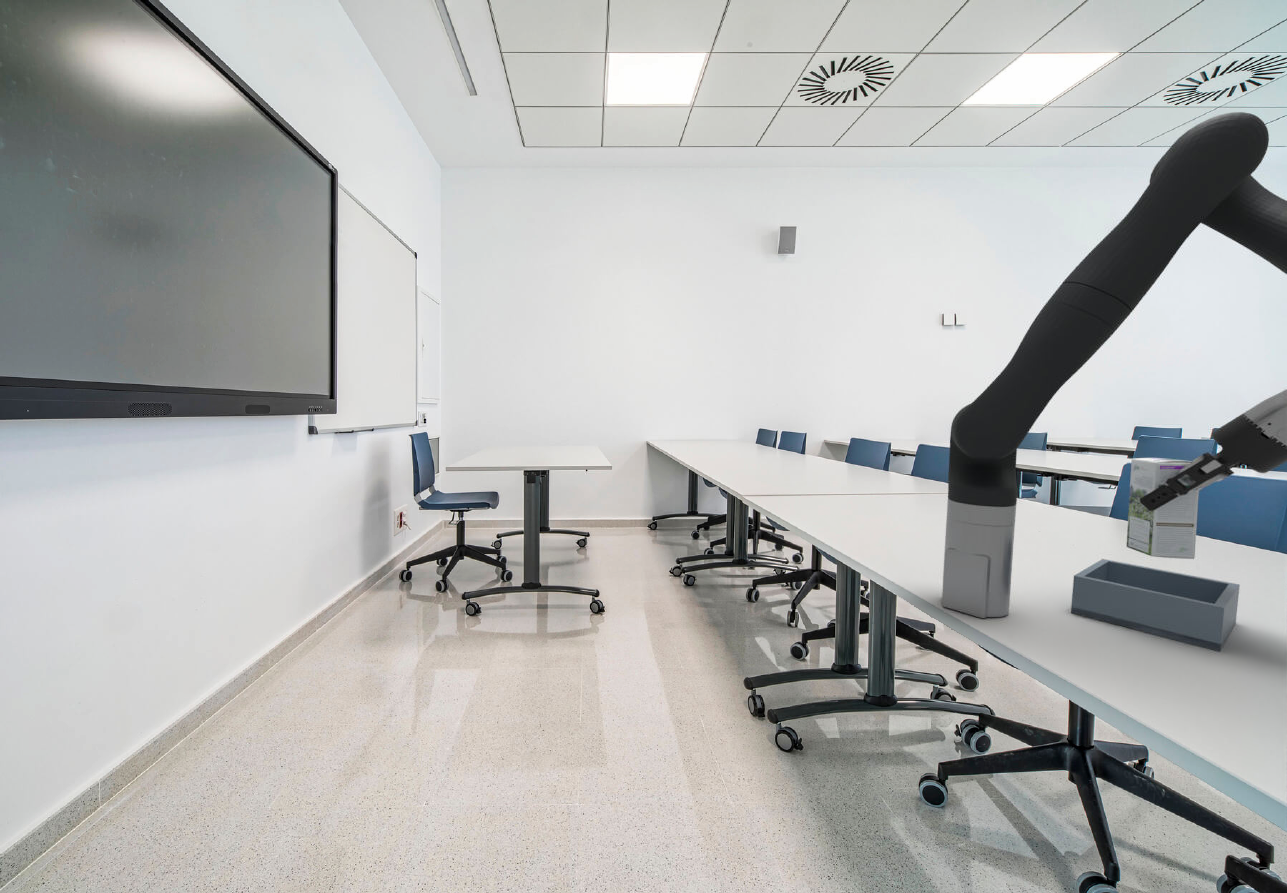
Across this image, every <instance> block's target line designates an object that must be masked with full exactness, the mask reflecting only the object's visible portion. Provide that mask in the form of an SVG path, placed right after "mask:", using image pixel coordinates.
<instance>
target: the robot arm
mask: <svg viewBox="0 0 1287 893" xmlns="http://www.w3.org/2000/svg"><path fill="white" fill-rule="evenodd" d="M1269 136H1270V135H1269V130H1268V127H1267V125H1266V124H1265V122H1264V121H1263V119H1261V118H1260V117H1259V116H1257V115H1255V114H1252V113H1249V112H1245V111H1244V112H1243V111H1238V112H1237V111H1234V112H1228V113H1223V114H1219V115H1215V116H1213V117H1210V118H1208V119H1206V120H1204V121H1202V122H1200V123H1198V124H1196V125H1194V126H1193V127H1192V128H1190V129H1188V130H1186V131H1185V132H1184V133H1183V134H1181V136H1179V137H1178V138H1177V139H1176V140H1175V141H1174V143H1173V144H1172V145H1171V146H1170V147H1169V148H1168V150H1167V151H1166V152H1165V153H1164V154H1163V155H1162V156H1161V158H1160V159H1159V160H1158V161H1157V163H1156V164H1155V166H1154V167H1153V169H1152V172H1151V173H1150V177H1149V184H1148V186H1147V187H1146V189H1145V190H1144V192H1143V193H1142V194H1141V196H1140V197H1139V199H1138V200H1137V202H1135V204H1134V205H1133V207H1132V208H1131V209H1130V210H1129V212H1128V213H1127V214H1126V215H1125V216H1124V218H1123V219H1122V220H1120V222H1119V223H1118V224H1117V225H1116V226H1115V227H1114V228H1113V229H1112V230H1111V231H1110V232H1109V233H1108V234H1106V236H1105V237H1104V238H1103V239H1102V240H1101V241H1099V243H1098V244H1096V245H1095V247H1094V248H1092V250H1090V252H1089V253H1088V254H1087V255H1086V256H1085V257H1084V258H1083V259H1082V260H1081V261H1080V262H1079V263H1078V265H1076V266H1075V268H1074V269H1073V270H1072V271H1071V272H1070V273H1069V274H1068V276H1067V277H1066V278H1065V279H1064V280H1063V282H1062V283H1061V284H1060V285H1059V287H1058V288H1057V289H1056V290H1055V292H1054V293H1052V295H1051V297H1049V299H1048V300H1047V301H1046V303H1045V304H1044V305H1043V307H1042V308H1041V310H1040V311H1039V312H1038V314H1037V316H1036V317H1035V318H1034V320H1033V322H1032V323H1031V324H1030V326H1029V327H1028V330H1027V331H1026V333H1025V334H1024V336H1023V338H1022V340H1021V342H1020V343H1019V345H1018V347H1017V349H1016V351H1015V352H1014V354H1013V356H1012V357H1011V359H1010V361H1009V362H1008V364H1007V365H1006V366H1005V367H1004V368H1003V370H1002V371H1001V372H1000V373H999V375H998V376H996V377H995V378H994V379H993V381H992V382H991V383H990V384H989V385H988V386H987V388H986V389H984V391H982V392H981V394H979V395H978V396H977V397H976V398H975V399H974V400H973V401H972V402H971V403H969V404H967V405H965V406H964V407H962V408H961V409H960V410H959V411H958V412H957V413H956V415H955V416H954V417H953V420H952V422H951V426H950V427H951V428H950V437H949V440H950V441H949V458H948V460H949V461H948V477H947V479H948V480H947V483H948V486H947V490H948V491H947V503H946V504H947V505H946V506H947V507H946V522H945V537H944V538H945V539H944V540H945V541H944V554H943V555H944V556H943V569H942V570H943V571H942V572H943V573H942V574H943V575H942V589H941V590H942V591H941V592H942V593H941V607H944V608H948V609H951V610H955V611H957V612H961V613H964V614H968V615H971V616H975V617H977V618H981V619H985V618H999V617H1005V616H1008V615H1009V613H1010V604H1011V603H1010V602H1011V589H1012V588H1011V587H1012V570H1013V556H1014V554H1013V553H1014V540H1015V528H1016V527H1015V526H1016V513H1017V512H1016V511H1017V503H1018V502H1017V501H1018V485H1017V475H1016V474H1017V456H1018V454H1017V452H1018V448H1019V447H1020V446H1021V444H1022V443H1023V441H1025V439H1026V436H1028V434H1029V432H1030V430H1031V429H1032V427H1033V426H1034V424H1035V423H1036V421H1037V420H1038V419H1039V417H1040V416H1041V414H1042V412H1044V410H1045V409H1046V407H1047V406H1048V404H1049V403H1050V401H1051V400H1052V399H1053V397H1054V396H1055V395H1056V394H1057V393H1058V391H1059V390H1060V389H1061V388H1062V387H1063V386H1064V385H1065V384H1066V383H1067V382H1068V381H1069V380H1070V379H1071V378H1072V377H1073V376H1074V375H1075V374H1076V373H1077V372H1079V370H1080V369H1081V368H1082V367H1084V365H1085V364H1086V363H1087V362H1088V361H1089V360H1090V359H1091V358H1092V357H1093V356H1094V355H1095V354H1096V353H1097V352H1098V350H1100V348H1101V347H1102V346H1103V345H1104V344H1105V343H1106V342H1107V341H1108V340H1109V339H1110V338H1111V337H1112V336H1113V335H1114V334H1115V332H1116V331H1117V330H1118V329H1119V328H1120V327H1121V325H1122V324H1123V323H1124V322H1125V320H1127V318H1128V317H1129V316H1130V315H1131V313H1132V312H1133V311H1134V310H1135V308H1136V307H1137V306H1138V305H1139V303H1141V301H1142V300H1143V298H1145V296H1146V295H1147V293H1148V292H1149V291H1150V289H1151V288H1152V286H1154V284H1155V283H1156V282H1157V280H1159V277H1160V276H1161V275H1162V273H1163V272H1164V271H1165V270H1166V268H1167V266H1168V265H1169V264H1170V262H1171V261H1172V259H1173V258H1174V256H1175V255H1176V254H1177V252H1178V251H1179V249H1180V248H1182V245H1183V244H1184V243H1185V241H1186V240H1187V239H1188V238H1189V237H1190V235H1191V234H1192V233H1193V232H1194V231H1195V230H1196V228H1198V227H1199V225H1200V224H1202V225H1204V226H1206V227H1208V228H1209V229H1212V230H1213V231H1216V232H1217V233H1220V234H1222V235H1223V236H1225V237H1226V238H1228V239H1230V240H1232V241H1234V242H1236V243H1238V244H1239V245H1241V246H1242V247H1243V248H1246V249H1248V250H1249V251H1251V252H1252V253H1254V254H1255V255H1257V256H1258V257H1260V258H1262V259H1264V260H1265V261H1267V262H1269V264H1271V265H1273V266H1274V267H1276V269H1279V271H1281V272H1282V273H1283V274H1285V275H1287V200H1286V199H1285V198H1282V197H1280V196H1278V195H1276V194H1275V193H1273V192H1271V190H1269V189H1268V188H1266V187H1264V186H1263V185H1262V184H1261V183H1260V182H1259V181H1258V180H1257V179H1256V178H1255V177H1254V176H1253V175H1252V174H1253V173H1254V172H1255V171H1256V170H1257V168H1258V167H1259V165H1260V164H1262V162H1263V159H1264V158H1265V156H1266V154H1267V151H1268V147H1269V142H1270V141H1269V140H1270V138H1269ZM1210 436H1211V438H1212V439H1213V440H1214V442H1215V443H1216V444H1218V445H1219V446H1221V450H1220V451H1219V452H1217V453H1215V454H1212V453H1209V451H1208V452H1204V453H1203V454H1201V455H1199V456H1198V457H1196V458H1195V459H1193V460H1192V461H1193V462H1192V463H1191V464H1189V465H1187V466H1185V467H1184V468H1182V469H1180V470H1179V471H1177V472H1176V476H1175V477H1173V478H1169V479H1167V481H1165V483H1164V485H1162V486H1161V487H1159V488H1157V489H1156V490H1154V491H1152V492H1151V493H1149V494H1147V495H1145V496H1144V497H1142V498H1141V499H1140V503H1141V504H1143V505H1144V506H1145V507H1146V508H1147V509H1148V510H1150V511H1154V510H1156V509H1157V508H1159V507H1161V506H1163V505H1164V504H1166V503H1168V502H1170V501H1171V500H1173V499H1175V498H1177V497H1180V496H1184V495H1186V494H1187V493H1188V492H1189V491H1191V490H1196V491H1199V492H1200V491H1201V490H1202V489H1204V488H1207V487H1209V486H1210V485H1212V484H1213V483H1215V482H1222V481H1223V480H1224V479H1226V478H1228V477H1230V476H1232V475H1234V474H1235V472H1234V471H1233V470H1232V469H1233V468H1236V467H1238V466H1239V465H1240V464H1244V465H1245V466H1246V467H1248V468H1249V469H1251V470H1253V471H1255V472H1257V473H1261V474H1267V473H1268V472H1270V471H1272V470H1274V469H1276V468H1277V467H1279V466H1281V465H1283V464H1285V463H1287V389H1284V390H1282V391H1280V392H1279V393H1276V394H1274V395H1272V396H1270V397H1268V398H1266V399H1264V400H1263V401H1261V402H1259V403H1257V404H1256V405H1254V406H1253V407H1251V408H1250V409H1249V408H1248V410H1246V411H1245V412H1243V413H1241V414H1240V415H1238V416H1237V417H1235V418H1233V419H1232V420H1230V421H1228V422H1227V423H1225V424H1224V425H1221V426H1220V427H1219V428H1217V429H1215V430H1214V431H1212V432H1211V435H1210ZM1178 479H1182V480H1183V481H1184V482H1186V483H1187V484H1188V485H1189V487H1188V488H1187V487H1185V486H1184V485H1183V484H1182V483H1181V482H1179V481H1178Z"/></svg>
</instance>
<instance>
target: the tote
mask: <svg viewBox="0 0 1287 893" xmlns="http://www.w3.org/2000/svg"><path fill="white" fill-rule="evenodd" d="M1240 586H1241V585H1240V584H1237V583H1233V582H1229V581H1228V582H1227V581H1223V580H1218V579H1212V578H1207V577H1203V576H1202V577H1200V576H1195V575H1192V574H1185V573H1180V572H1175V571H1169V570H1163V569H1160V568H1159V569H1158V568H1153V567H1148V566H1143V565H1137V564H1132V563H1127V562H1121V561H1116V560H1111V559H1104V558H1102V559H1100V560H1098V561H1097V562H1096V561H1095V563H1093V564H1091V565H1090V566H1088V567H1086V568H1085V569H1083V570H1081V571H1079V572H1077V573H1076V574H1074V575H1073V582H1072V595H1071V608H1070V610H1071V611H1070V613H1071V614H1074V613H1076V614H1075V615H1077V614H1078V616H1081V615H1084V616H1083V617H1085V616H1086V618H1089V619H1093V618H1094V619H1093V620H1096V621H1097V620H1098V621H1102V622H1105V623H1109V624H1112V625H1117V626H1121V627H1124V628H1128V629H1132V630H1136V631H1140V632H1144V633H1148V634H1151V635H1155V636H1158V637H1162V638H1167V639H1170V640H1174V641H1178V642H1181V643H1186V644H1190V645H1194V646H1196V647H1197V646H1198V647H1201V648H1205V649H1210V650H1211V651H1216V652H1221V650H1222V648H1223V647H1224V645H1225V643H1226V641H1227V639H1228V638H1229V636H1230V635H1231V632H1232V630H1233V629H1234V627H1235V625H1236V622H1237V614H1238V606H1239V605H1238V604H1239V603H1238V602H1239V594H1240Z"/></svg>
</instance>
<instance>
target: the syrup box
mask: <svg viewBox="0 0 1287 893" xmlns="http://www.w3.org/2000/svg"><path fill="white" fill-rule="evenodd" d="M1192 462H1193V460H1183V459H1175V458H1174V459H1173V458H1164V457H1139V458H1135V457H1134V458H1131V468H1130V479H1129V480H1130V481H1129V496H1128V497H1129V498H1128V499H1129V500H1128V516H1127V532H1126V533H1127V534H1126V548H1129V549H1132V550H1134V551H1136V552H1139V553H1142V554H1144V555H1147V556H1150V557H1154V558H1165V559H1181V560H1182V559H1183V560H1184V559H1187V560H1194V559H1195V557H1196V541H1197V540H1196V538H1197V526H1198V525H1197V524H1198V511H1199V510H1198V509H1199V506H1198V505H1199V497H1200V495H1199V494H1200V490H1199V491H1196V490H1191V491H1189V492H1188V493H1187V494H1186V495H1184V496H1180V497H1177V498H1175V499H1173V500H1171V501H1170V502H1168V503H1166V504H1164V505H1163V506H1161V507H1159V508H1157V509H1156V510H1154V511H1150V510H1148V509H1147V508H1146V507H1145V506H1144V505H1143V504H1141V503H1140V499H1141V498H1142V497H1144V496H1145V495H1147V494H1149V493H1151V492H1152V491H1154V490H1156V489H1157V488H1159V487H1161V486H1162V485H1164V483H1165V481H1167V479H1169V478H1173V477H1175V476H1176V472H1177V471H1179V470H1180V469H1182V468H1184V467H1185V466H1187V465H1189V464H1191V463H1192ZM1178 481H1179V482H1181V483H1182V484H1183V485H1184V486H1185V487H1187V488H1188V487H1189V485H1188V484H1187V483H1186V482H1184V481H1183V480H1182V479H1178Z"/></svg>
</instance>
